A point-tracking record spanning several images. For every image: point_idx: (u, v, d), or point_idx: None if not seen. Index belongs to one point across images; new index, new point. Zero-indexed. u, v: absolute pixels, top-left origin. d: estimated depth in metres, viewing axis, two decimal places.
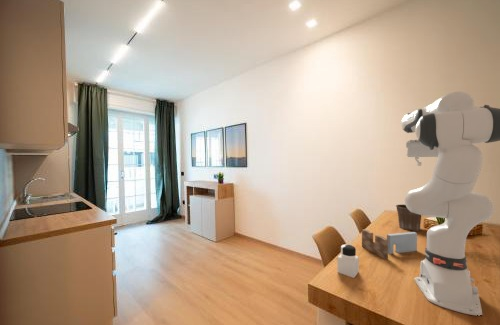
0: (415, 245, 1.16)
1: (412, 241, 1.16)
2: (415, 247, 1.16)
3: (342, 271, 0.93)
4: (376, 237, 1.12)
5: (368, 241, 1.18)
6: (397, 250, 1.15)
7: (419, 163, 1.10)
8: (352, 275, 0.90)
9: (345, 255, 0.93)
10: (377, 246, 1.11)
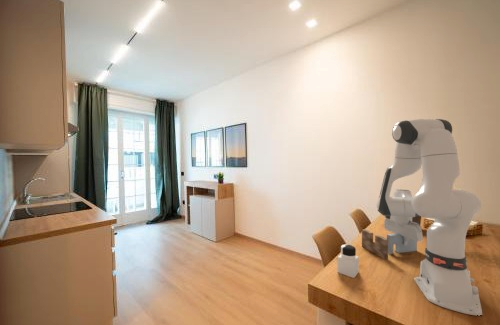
0: (415, 245, 1.16)
1: (412, 241, 1.16)
2: (415, 247, 1.16)
3: (342, 271, 0.93)
4: (376, 237, 1.12)
5: (368, 241, 1.18)
6: (397, 250, 1.15)
7: None
8: (352, 275, 0.90)
9: (345, 255, 0.93)
10: (377, 246, 1.11)
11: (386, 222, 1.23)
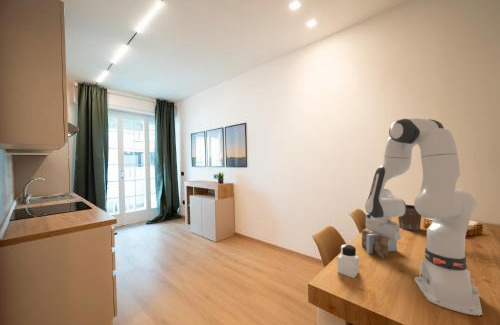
0: (395, 245, 1.17)
1: (392, 241, 1.16)
2: (395, 247, 1.17)
3: (342, 271, 0.93)
4: (376, 237, 1.12)
5: None
6: None
7: None
8: (352, 275, 0.90)
9: (345, 255, 0.93)
10: (377, 246, 1.11)
11: (367, 222, 1.23)
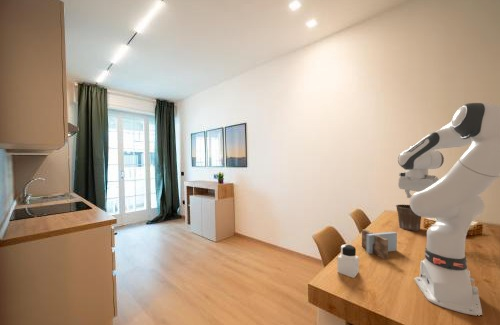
0: (395, 245, 1.17)
1: (392, 241, 1.16)
2: (395, 247, 1.17)
3: (342, 271, 0.93)
4: (376, 237, 1.12)
5: None
6: None
7: None
8: (352, 275, 0.90)
9: (345, 255, 0.93)
10: (377, 246, 1.11)
11: (400, 181, 1.22)
